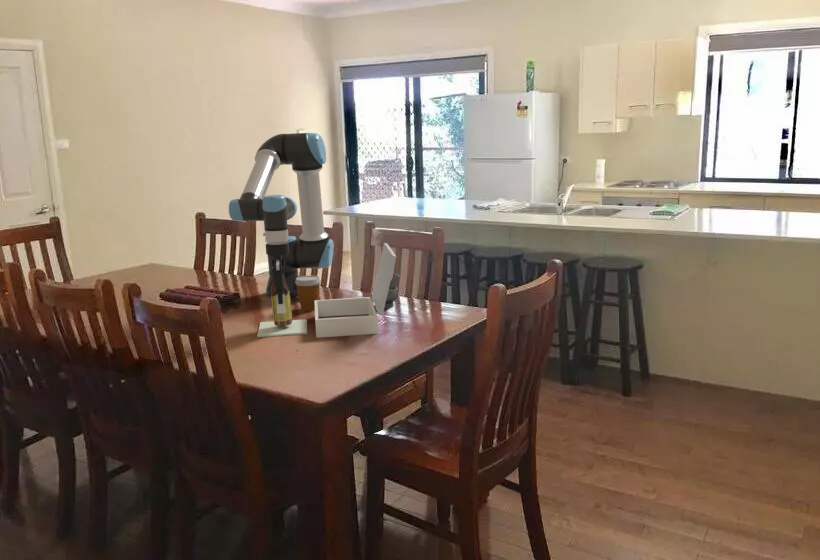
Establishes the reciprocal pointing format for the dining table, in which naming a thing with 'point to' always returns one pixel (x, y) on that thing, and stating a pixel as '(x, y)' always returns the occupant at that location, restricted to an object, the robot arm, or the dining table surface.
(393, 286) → the mortar and pestle
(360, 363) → the dining table surface
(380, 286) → the case lid
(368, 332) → the case
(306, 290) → the disposable coffee cup
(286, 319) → the sauce bottle
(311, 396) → the dining table surface
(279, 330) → the mat
